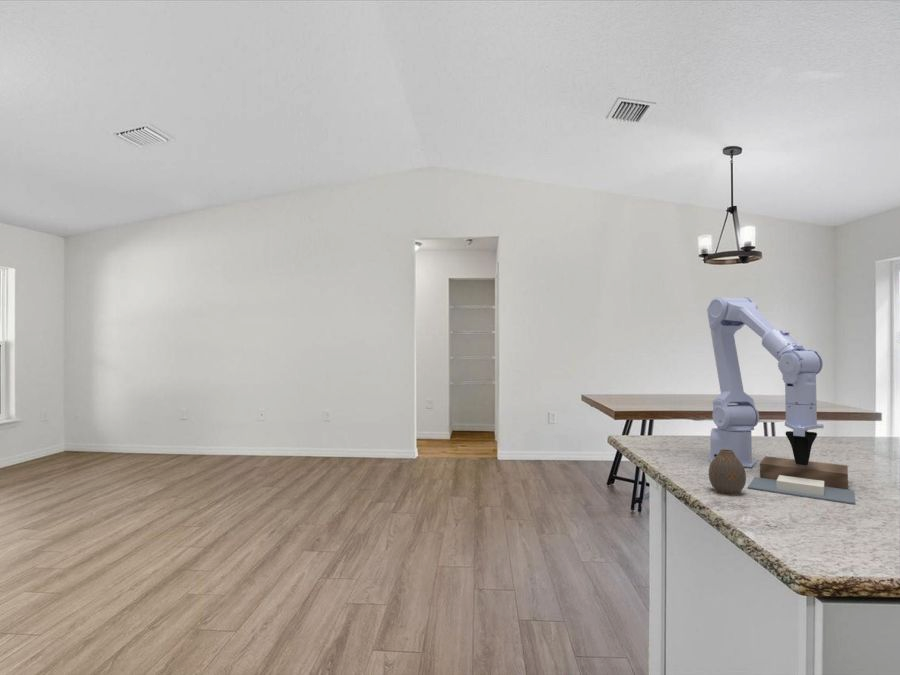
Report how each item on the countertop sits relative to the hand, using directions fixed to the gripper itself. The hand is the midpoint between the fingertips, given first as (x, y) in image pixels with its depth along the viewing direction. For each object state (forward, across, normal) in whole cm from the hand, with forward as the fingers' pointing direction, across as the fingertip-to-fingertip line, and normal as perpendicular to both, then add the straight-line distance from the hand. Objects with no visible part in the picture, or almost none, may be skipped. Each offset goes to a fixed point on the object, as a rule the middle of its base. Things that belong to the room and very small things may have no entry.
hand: (801, 464), depth 111 cm
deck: (+4, +4, 0) cm, 6 cm away
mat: (+4, -6, 0) cm, 8 cm away
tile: (+2, -7, 0) cm, 7 cm away
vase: (+4, -18, +12) cm, 22 cm away
